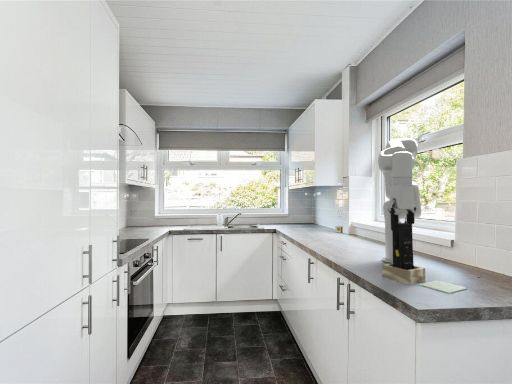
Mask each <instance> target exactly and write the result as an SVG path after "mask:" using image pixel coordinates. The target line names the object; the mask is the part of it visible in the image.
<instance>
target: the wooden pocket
mask: <svg viewBox="0 0 512 384" xmlns="http://www.w3.org/2000/svg"><path fill="white" fill-rule="evenodd" d="M381 266H382V268H381V269H382V271H381V273H382V276H381V277H383V278H385V279H388V280H392V281H396V282H398V283H399V282H400V283H403V284H406V285H413V284H416V283H421V282H425V281H426V268H425V267H421V266H417V265H414V269H412V270H405V269H401V268H397V267H393V263H386V264H382V265H381Z"/></svg>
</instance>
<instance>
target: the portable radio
mask: <svg viewBox="0 0 512 384" xmlns="http://www.w3.org/2000/svg"><path fill="white" fill-rule="evenodd" d="M391 230H392V235H393V267H397V268H401V269H405V270H412V269H414V266H415V265H414V250H413V249H414V248H413V247H414V246H413V245H414V243H413V224H411V223H407V219H406V217H405V219H404V222H402V223H399V224H398V225H394V224H391Z"/></svg>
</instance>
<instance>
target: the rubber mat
mask: <svg viewBox="0 0 512 384" xmlns="http://www.w3.org/2000/svg"><path fill="white" fill-rule="evenodd" d="M418 285H419V287H420V286H421V287H424V288H428V289H431V290H435V291H438V292H441V293H444V294H448V295H450V294H453V293H458V292H462V291H465V290H468V287H464V286H460V285H457V284H453V283H448V282H444V281H441V280H433V281H427V282H423V283H419V284H418Z"/></svg>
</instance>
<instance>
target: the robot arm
mask: <svg viewBox="0 0 512 384" xmlns="http://www.w3.org/2000/svg"><path fill="white" fill-rule="evenodd" d="M418 151H419V147H418V142H417V141H416V140H415V139H413V138H397V139H392V140H390V141H389V142H387V143H386V145H385V149H384V150H382V151H381V152H379V154H378V159H377V165H378V169H379V170H380V172H382V174H383V177H384V192H385V197H386V198H387V199H388V200H387V201H385V202H384V203H383V206H382V211H383V217H384V234H385V235H384V241H385V243H384V245H385V247H384V248H385V252H384V253H385V256H383V257H382V261H383V262H385V263H387V264H391V263H393V235H392V230H391V224H394V225H398V224H399V223H403V222H402V221H401V220H405V217H406V221H407V223H411V224H412V225H413V224H416V223H415V220H417V219H419V218H420V217H421V216H422V203H421V197H420V196H421V195H420V190H419V185H418V184H417V182H414V181H413V168H414V167H415V165H416V163H415V162H416V161H415V160H416V158H417V155H418Z"/></svg>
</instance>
